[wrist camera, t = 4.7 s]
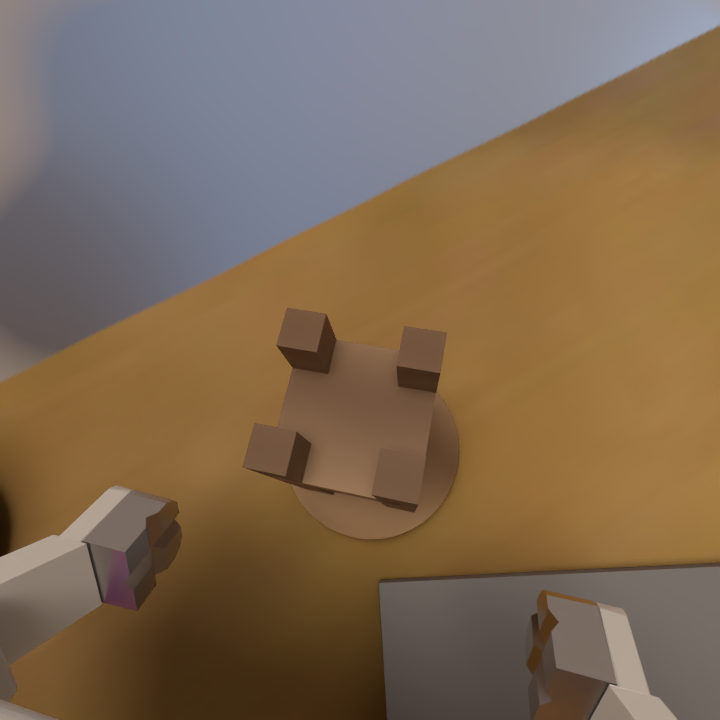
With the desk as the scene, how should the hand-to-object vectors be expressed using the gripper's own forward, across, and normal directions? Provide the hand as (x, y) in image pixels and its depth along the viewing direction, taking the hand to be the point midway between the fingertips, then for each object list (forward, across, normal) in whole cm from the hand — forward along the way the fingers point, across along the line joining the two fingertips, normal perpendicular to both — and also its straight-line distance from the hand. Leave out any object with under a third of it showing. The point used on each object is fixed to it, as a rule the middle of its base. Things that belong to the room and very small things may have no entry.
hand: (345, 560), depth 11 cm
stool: (+9, +1, +4) cm, 10 cm away
